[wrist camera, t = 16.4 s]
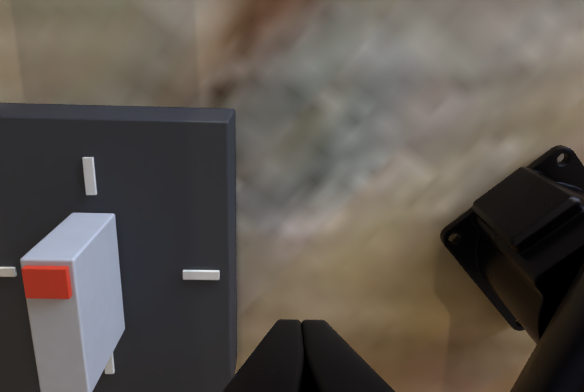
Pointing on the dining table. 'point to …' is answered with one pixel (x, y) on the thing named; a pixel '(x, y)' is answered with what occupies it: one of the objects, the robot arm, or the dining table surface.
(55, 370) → the gray box
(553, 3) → the dining table surface
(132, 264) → the timer panel
